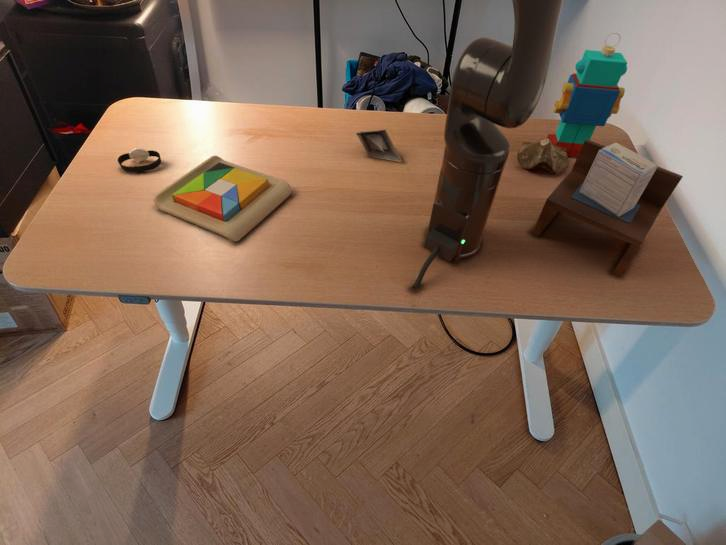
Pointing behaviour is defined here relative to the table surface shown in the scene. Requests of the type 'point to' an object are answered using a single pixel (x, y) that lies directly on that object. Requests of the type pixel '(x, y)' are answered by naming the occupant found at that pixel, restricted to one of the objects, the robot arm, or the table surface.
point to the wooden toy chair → (586, 210)
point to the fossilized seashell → (543, 156)
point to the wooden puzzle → (223, 197)
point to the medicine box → (617, 178)
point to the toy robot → (589, 98)
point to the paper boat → (378, 145)
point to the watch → (140, 155)
